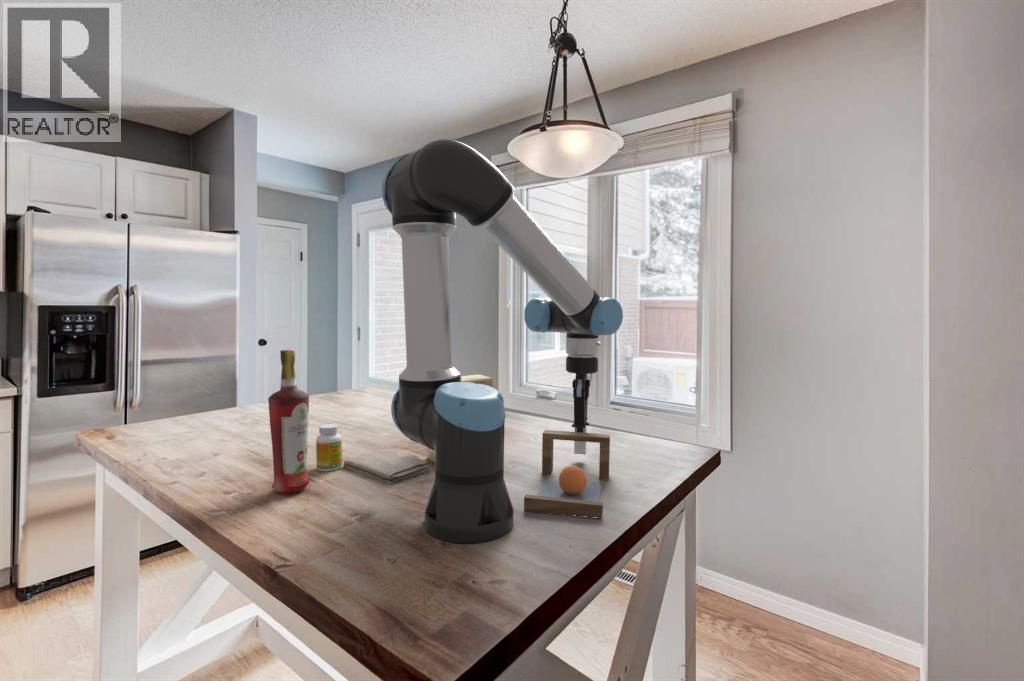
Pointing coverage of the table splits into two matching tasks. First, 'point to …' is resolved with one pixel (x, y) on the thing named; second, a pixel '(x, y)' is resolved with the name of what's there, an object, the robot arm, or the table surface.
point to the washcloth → (388, 465)
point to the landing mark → (554, 490)
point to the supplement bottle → (329, 448)
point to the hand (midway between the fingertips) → (580, 453)
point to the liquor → (289, 430)
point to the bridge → (575, 436)
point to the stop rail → (563, 506)
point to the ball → (572, 480)
